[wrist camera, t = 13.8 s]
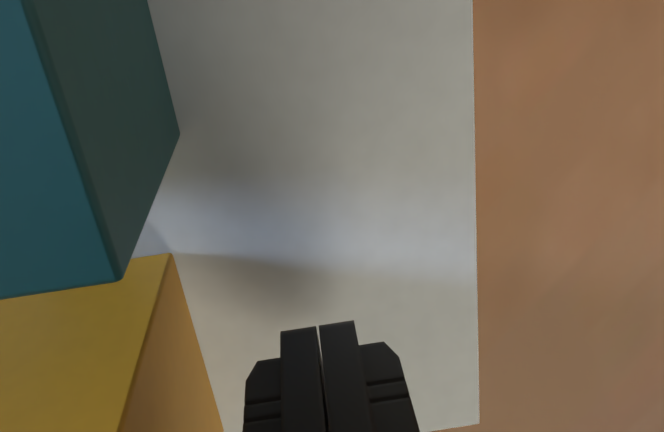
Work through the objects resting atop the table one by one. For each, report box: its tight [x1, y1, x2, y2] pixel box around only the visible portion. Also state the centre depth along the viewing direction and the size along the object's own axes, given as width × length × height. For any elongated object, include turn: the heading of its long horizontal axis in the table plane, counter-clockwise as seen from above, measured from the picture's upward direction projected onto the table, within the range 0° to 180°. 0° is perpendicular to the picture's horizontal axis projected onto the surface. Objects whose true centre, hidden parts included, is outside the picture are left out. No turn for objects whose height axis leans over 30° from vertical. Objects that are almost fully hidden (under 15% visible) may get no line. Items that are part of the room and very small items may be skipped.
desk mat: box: [131, 0, 480, 432], centre depth 10 cm, size 21×16×1 cm
